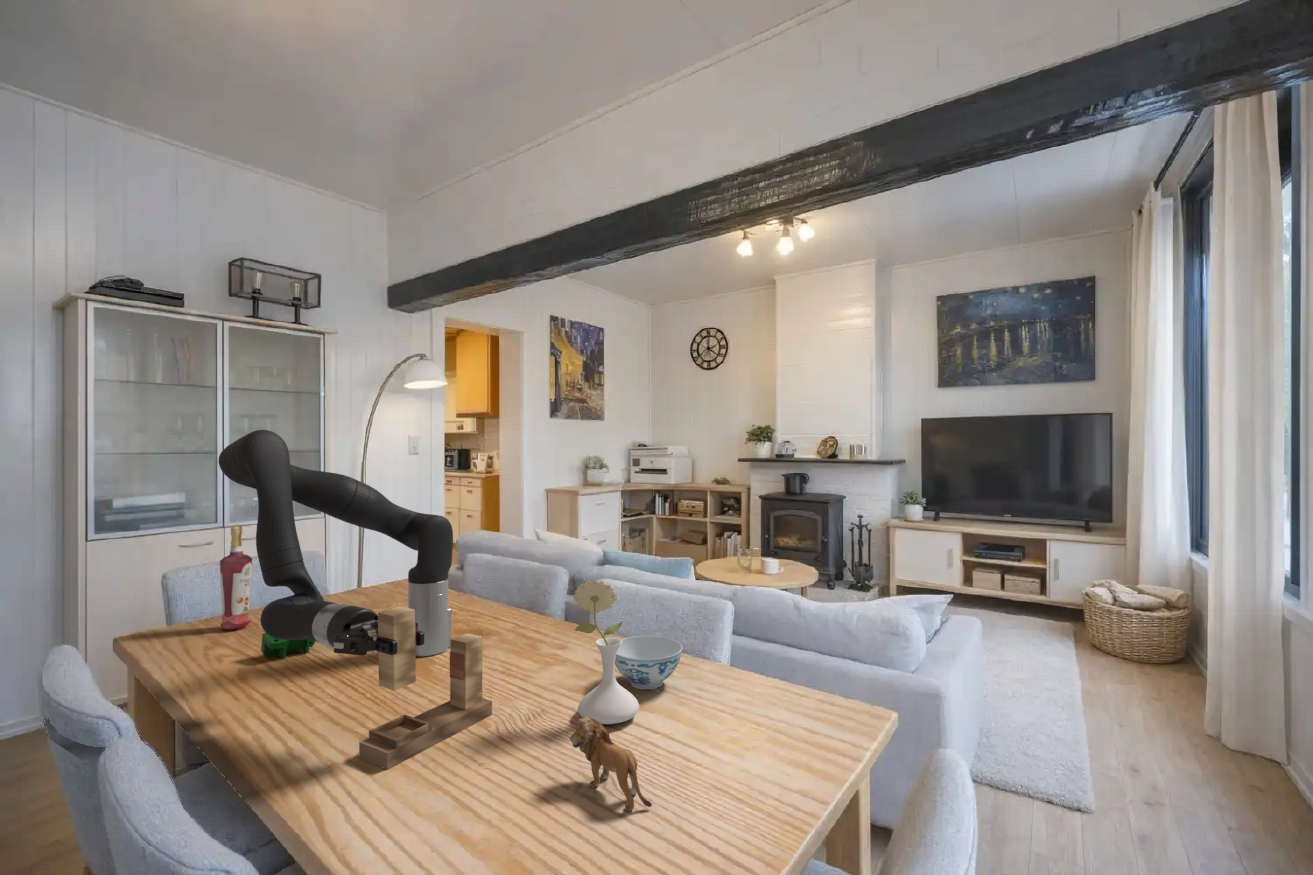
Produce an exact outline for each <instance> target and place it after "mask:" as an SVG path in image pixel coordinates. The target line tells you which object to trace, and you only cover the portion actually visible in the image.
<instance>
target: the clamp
mask: <svg viewBox="0 0 1313 875" xmlns="http://www.w3.org/2000/svg"><path fill="white" fill-rule="evenodd" d="M315 644H316V641H313V640H310V639H302V640H281V639H276V638H273V637H271V636H269V635H268V634H267V633H266V632H263V633H262V637H261V646H260V651H261V653H262V654H263V656H264V657H265V658H272V657H277V656H279V657H280V659H281V660H286V658H287V657H286V656H287V654H289V653H294V652H298V651H303V652H304V653H305V654H306V653H307V654H309V653H310V652H309V651H310V648H309V647H311V648H312V647H313V646H315ZM297 650H298V651H297ZM293 651H294V652H293ZM276 655H277V656H276Z"/></svg>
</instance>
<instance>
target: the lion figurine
mask: <svg viewBox="0 0 1313 875" xmlns="http://www.w3.org/2000/svg"><path fill="white" fill-rule="evenodd" d="M577 721H578V722H577V723H578V724H577V727H576V728H575V731H574V732H573V734H572V735H570V736H569V741H570V742H571V744H572V747H573V748H574V749H577V748H579V751H580V752H582V753H583V754H584V755H585V759H586V760H587V761H589V763H591V764H590V766H591V773H592V776H593V780H591V781H590V782H589V787H590V788H592V789H593V788H594V787H595V788H598V787H599V785H600V781H601V780H600V779H602V780H607V779H609V778H610V772H612V773H615V774H616V778H617V779H616V780H617V782H618V785H619V788H620V790H621V791H622V793H623V795H624V796H625V798H626V800H627V803H625V805H624V810H625V811H626V812H631V811H633V810H634V808H635V801H634V797H633V796H634V795H637V797H638V798H639V799H640V801H641V802H642V803H643V805H644V806H645V807H649V808H651V807H652V806H653V804H652V802H650V801H649V800H648V799H647V798H645V797H644V796H643V794H642V792H641V789H640V785H639V781H638V775H637V774H638V773H637V769H638V762H637V758H636V757H635V755H634V753H633V751H631V749H628V748H623V747H621V746H619V745H618V744H616V743H614V742H613V740H611V738H610V736H611V735H610V733H609V732H608V730H607V729H606V727H605V726H603V724H600V723H599V722H598V721H596V720H594V719H592V718H590V717H584V718H582V717H581V718H580V719H577ZM601 766H602V773H601V774H600V769H601ZM628 778H629V779H630V783H631V787H629V783H628V782H629V781H628Z"/></svg>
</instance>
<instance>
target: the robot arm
mask: <svg viewBox="0 0 1313 875" xmlns="http://www.w3.org/2000/svg"><path fill="white" fill-rule="evenodd" d="M288 448H289V447H288V445H287V443H286V441H285V440H284V438H282V437H281V436H280V435H279V434H277V433H276V432H273V431H272V430H267V429H258V430H254V431H251V432H249V433H246V434H244V435H243V436H242V437H240V438H238V439H236V440H235V441H233V442H232V443H230V444H228V445H227V446H226V447H225V448H223V450H222V451H221V452H220V454H219V456H218V466H219V468H220V470H221V472H222V473H223V475H225V477H227V478H228V479H229V480H230V481H232V482H235V483H236V484H238V485H241V486H244V487H248V488H251V489H255V490H256V495H257V500H258V501H257V503H258V504H257V506H258V508H257V509H258V510H257V524H256V533H255V547H256V554H257V558H258V564H259V566H260V571H261V575H262V579H263V582H264V584H265V586H267V587H270V588H274V587H276V588H277V587H286V588H288V589H289V590H290V591H291V592H292V593H293V595H289V596H285V597H281V598H278V599H276V600H275V599H274V600H273V601H271V602H269V603H267V604H266V606H265V607H264V608H263V610H262V611H261V614H260V625H261V628H262V630H263V631H264V633H267V634H268V635H269V636H271V637H273V638H276V639H281V640H302V639H310V640H313V641H315V643H316V642H317V643H320V644H322V645H324V646H326V647H328V648H332V649H333V653H334V654H340V655H341V654H342V655H349V656H350V655H352V656H365V655H368V653H371V654H378V652H382V653H385V654H389V655H394V654H397V641H396V640H392V639H388V638H385V637H380V636H379V635H378V613H377V612H375V611H374V610H373V609H369V608H366V607H362V606H361V607H360V606H355V605H352V604H346V603H336V602H333V601H327V600H324V597H323V596H322V594H321V592H320V591H319V589H318V587H317V585H316V584H315V582H314V581H313V579H312V577H311V576H310V574H309V571H308V570H307V568H306V566H305V562H304V557H303V554H302V549H301V545H300V542H299V537H298V531H297V526H296V521H295V520H296V519H295V514H294V513H295V512H294V503H293V502H295V503H298V504H300V505H302V506H305V507H307V508H310V509H313V510H315V511H318V512H321V513H322V514H325V515H328V516H330V517H332V518H335V519H336V520H338V521H339V520H340V521H343V522H344V523H348V524H350V525H353V526H355V527H359V528H362V529H366V530H369V531H370V530H371V531H374V532H378V533H380V534H383V535H385V536H388V537H389V538H390V539H393V540H395V541H396V542H398V543H400V544H402V545H403V546H406V547H408V548H409V549H411V550H413V551H417V560H416V564H415V566H413V567H411V568H409V570H408V575H407V583H408V584H407V593H408V594H407V608H410V609H415V622H416V649H415V653H416V657H429V656H435V655H438V654H439V655H440V654H441V653H444V652H446V651H447V650H448V649H450V639H452V609H451V607H449V573H450V569H451V566H452V563H453V551H454V549H453V547H454V546H453V545H454V531H453V526H452V524H451V521H449V519H448V518H446V517H445V516H443V515H437V514H432V513H430V514H429V513H424V512H423V513H421V512H417V511H415V510H411V509H408V508H405V507H403V506H399V505H398V504H395V503H394V502H392V501H391V500H389V499H388V498H387V497H386V496H385V495H384V494H383V493H381V492H380V491H378V490H377V489H376V488H374V487H372V486H371V485H368V484H367V483H365V482H362V481H360V480H358V479H355V478H353V477H352V476H348V475H345V474H340V473H336V472H329V471H321V470H314V469H308V468H303V467H300V466H296V465H293V464H291V458H290V451H289V449H288Z"/></svg>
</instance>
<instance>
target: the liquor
mask: <svg viewBox="0 0 1313 875" xmlns="http://www.w3.org/2000/svg"><path fill="white" fill-rule="evenodd" d="M242 535H243V525H232V526H230V536H231V540H230V541H231V542H230V547H229V555H227V556H224V557H223V558H221V560H219V571H220V578H219V579H220V591H221V592H220V593H221V616H222V617H221V620H222V621H221V623H220V625H219V626H220V628H222V629H224V631H227V632H229V631H240V630H243V629H245V628H246V627H247V626H248V625H249V624H250V623H251V620H250V597H251V583H252V570H253V569H252V567H253V558H252V557H251V556H250V555H248V554H246V553H244V552H243V541H242V540H243V539H242V537H243V536H242Z"/></svg>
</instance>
